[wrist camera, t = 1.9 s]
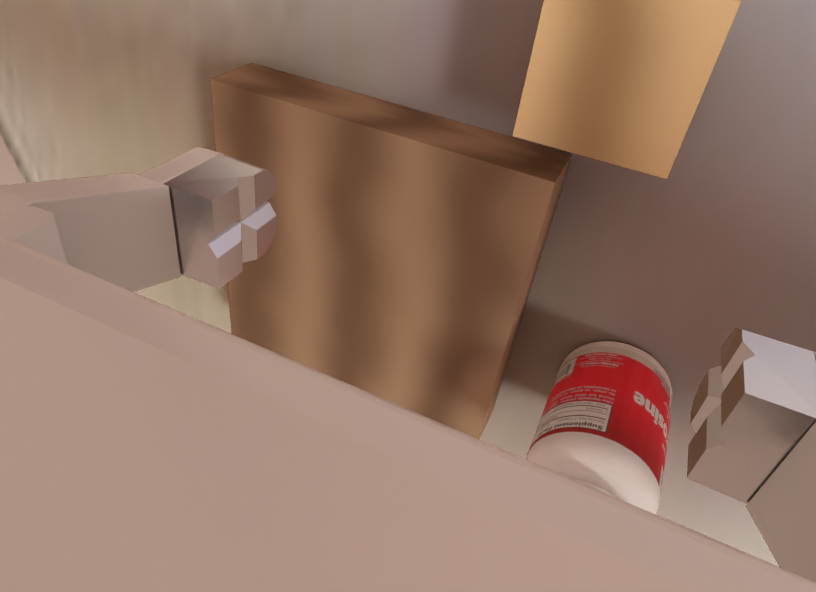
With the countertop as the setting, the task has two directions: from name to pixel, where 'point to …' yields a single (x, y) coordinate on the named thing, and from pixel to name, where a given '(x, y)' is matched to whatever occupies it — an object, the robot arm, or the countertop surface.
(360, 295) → the walnut block
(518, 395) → the countertop surface
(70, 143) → the countertop surface
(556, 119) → the oak block
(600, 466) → the pill bottle
